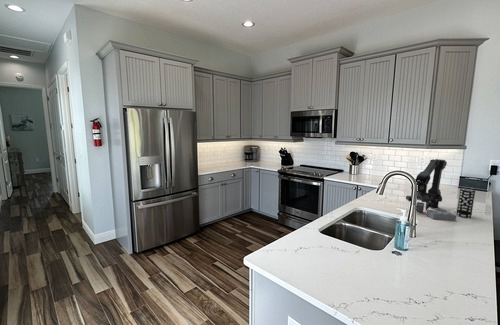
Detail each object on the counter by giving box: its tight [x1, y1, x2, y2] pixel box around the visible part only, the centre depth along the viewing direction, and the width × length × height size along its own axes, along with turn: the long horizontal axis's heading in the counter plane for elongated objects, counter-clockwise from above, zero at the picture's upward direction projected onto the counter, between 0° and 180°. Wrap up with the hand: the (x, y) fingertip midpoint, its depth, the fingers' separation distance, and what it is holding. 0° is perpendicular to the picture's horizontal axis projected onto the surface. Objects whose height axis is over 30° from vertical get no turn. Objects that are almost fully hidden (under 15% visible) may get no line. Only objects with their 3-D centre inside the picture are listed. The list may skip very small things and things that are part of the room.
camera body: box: [426, 208, 457, 222], centre depth 172 cm, size 9×14×6 cm, turn 78°
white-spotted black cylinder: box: [455, 188, 476, 219], centre depth 175 cm, size 8×8×20 cm
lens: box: [415, 201, 425, 214], centre depth 184 cm, size 5×5×7 cm
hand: (419, 209), depth 184 cm, fingers open, 9 cm apart
